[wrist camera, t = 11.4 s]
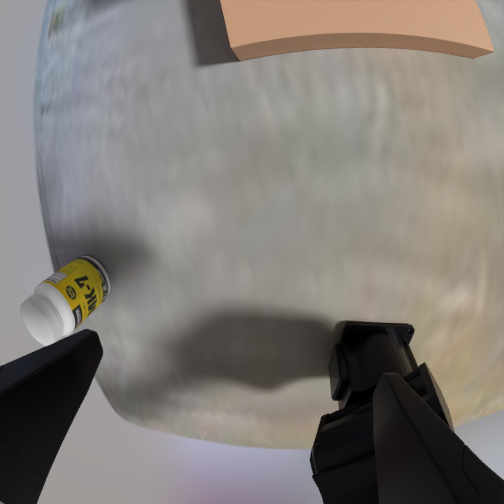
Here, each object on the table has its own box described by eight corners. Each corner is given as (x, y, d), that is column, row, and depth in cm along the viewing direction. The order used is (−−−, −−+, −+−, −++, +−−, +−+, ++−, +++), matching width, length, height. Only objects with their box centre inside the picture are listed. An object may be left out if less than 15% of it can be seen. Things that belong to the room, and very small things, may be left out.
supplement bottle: (117, 300, 24) (66, 357, 16) (83, 298, 25) (32, 346, 17) (103, 253, 22) (40, 301, 15) (69, 254, 23) (9, 296, 15)
